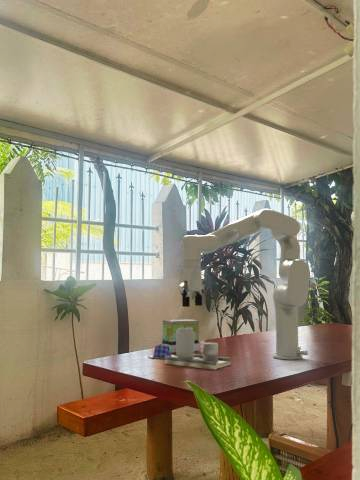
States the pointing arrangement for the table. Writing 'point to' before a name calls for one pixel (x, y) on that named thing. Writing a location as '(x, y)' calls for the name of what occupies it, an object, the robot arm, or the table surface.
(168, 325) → the tea box
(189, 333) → the can
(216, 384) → the table surface
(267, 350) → the table surface
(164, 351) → the blue plaid cloth
